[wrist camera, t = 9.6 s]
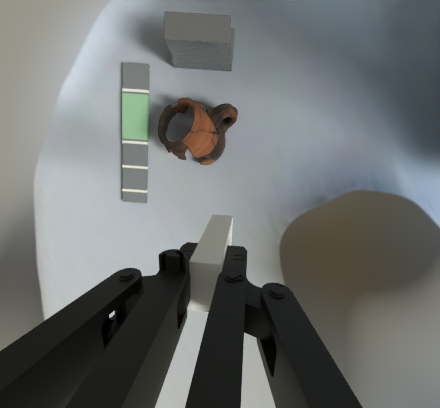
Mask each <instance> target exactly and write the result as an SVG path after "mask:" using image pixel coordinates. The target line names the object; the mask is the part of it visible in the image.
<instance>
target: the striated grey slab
mask: <svg viewBox="0 0 440 408" xmlns="http://www.w3.org/2000/svg"><path fill="white" fill-rule="evenodd" d="M230 24H231V16H228V15H212V14H196V13H180V12H165V19H164V40H165V42H166V44H167V46H168V48H169V50H170V53H171V55H172V63H173V65H174V67H176V68H191V69H206V70H221V71H231V69H232V56H233V42H234V28H230Z"/></svg>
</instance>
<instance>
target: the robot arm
mask: <svg viewBox="0 0 440 408" xmlns="http://www.w3.org/2000/svg"><path fill="white" fill-rule="evenodd" d="M232 223H233V216H224V215H212V217H211V219H210V221H209V223H208V225H207V227H206V229H205V231H204V233H203V235H202V237H201V239H200V241H199V243H190V242H187V243H186V244H184V245H183V246H182V247H181V248H180V250H177V249H171V250H166V251H164V252H162V253H160V254H159V269H160V270H159V272H158V273H157V274H156V275H152V276H143V277H142V274H141V272H140V270H138V269H135V268H126V269H122V270H119V271H118V272H116V273H114V274H113V275H111V276H110V277H108V278H107V279H105V280H104V281H102V282H101V283H99V284H98V285H97V286H95V287H94V288H92V289H91V290H89V291H88V292H86V293H85V294H83V295H82V296H80V297H79V298H78V299H76V300H75V301H73V302H72V303H70V304H69V305H67V306H66V307H64V308H63V309H61V310H60V311H59V312H57V313H56V314H54V315H53V316H51V317H50V318H48V319H47V320H45V321H44V322H43V323H41V324H40V325H38V326H37V327H35V328H34V329H32V330H31V331H29V332H28V333H27V334H25V335H23V336H22V337H21V338H19V339H18V340H16V341H15V342H13V343H12V344H10V345H9V346H7V347H6V348H4V349H3V350H2V351H0V408H155V405H156V402H157V400H158V397H159V394H160V391H161V388H162V386H163V383H164V380H165V377H166V374H167V372H168V369H169V366H170V363H171V360H172V358H173V355H174V352H175V349H176V346H177V344H178V341H179V338H180V335H181V332H182V330H183V327H184V324H185V321H186V318H187V307H188V304H189V302H190V309H191V310H198V311H206V312H209V314H208V318H207V322H206V326H205V330H204V334H203V338H202V342H201V346H200V350H199V354H198V358H197V362H196V366H195V370H194V374H193V378H192V382H191V386H190V390H189V394H188V398H187V402H186V406H185V408H240V407H241V385H242V362H243V340H244V332H245V333H247V334H249V335H252V336H254V337H256V338H257V344H258V348H259V351H260V354H261V358H262V361H263V365H264V368H265V372H266V375H267V378H268V382H269V385H270V389H271V392H272V396H273V399H274V402H275V406H276V408H362V406H361V405H360V403H359V401H358V400H357V398H356V396H355V395H354V393H353V391H352V390H351V388H350V386H349V385H348V383H347V381H346V380H345V378H344V377H343V375H342V373H341V372H340V370H339V368H338V367H337V365H336V363H335V362H334V360H333V358H332V357H331V355H330V354H329V352H328V350H327V349H326V347H325V346H324V344H323V342H322V340H321V339H320V337H319V336H318V334H317V332H316V331H315V329H314V328H313V326H312V324H311V322H310V321H309V319H308V317H307V316H306V314H305V312H304V311H303V309H302V308H301V306H300V304H299V303H298V301H297V299H296V298H295V296H294V295H293V293H292V292H291V290H290V289H289V288H288V287H286V286H284V285H282V284H279V283H267V284H265V285H264V286H263V287H262V288H260V287H257V286H255V285H253V284H251V283H250V282H249V281H248V280H247V278H246V266H247V250H246V249H245V248H244V247H240V246H231V243H232ZM114 310H115V315H114V316H113V317H111V318H109V314H110V313H112V312H113V311H114Z"/></svg>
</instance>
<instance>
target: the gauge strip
mask: <svg viewBox="0 0 440 408" xmlns="http://www.w3.org/2000/svg"><path fill="white" fill-rule="evenodd" d="M122 91H123V93H122V138H123V140H122V143H123V165H122V167H123V189H122V191H123V201H124V202H138V203H147V173H148V134H149V65H148V64H138V63H123V88H122Z"/></svg>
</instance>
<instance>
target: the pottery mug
mask: <svg viewBox="0 0 440 408" xmlns="http://www.w3.org/2000/svg"><path fill="white" fill-rule="evenodd" d="M189 106H191V107H192V109H193V111H194V121H193V125H192V127H191V129H190V131H189V133H188V134H187V135H186V136H185V137H184V138H183V139H182V140H180V141H178V142H169V141H168V140H167V138H166V132H167V127H168V124H169V122H170V120H171V119H172V117H173V116H174V115H175V114H176V113H178V112H179V113H185V112H186V111H188V109H189V108H190V107H189ZM203 109H204V106H203V105H201V104H200V103H198V102H194V101H193V100H191V99H189V98H180V99H178V105H177V106H176V107H174V108H173V107H172V106H171V105H168V106H167V107H166V108H165V110H164V112H163V113H162V115H161V117H160V120H159V125H158V135H159V139H160V141H161V142H162V143H163V144H164V145H165V147H166V149H167V151H168V152H169V153H170V152H171V151H172V153H173V154H174V155H176V156H177V157H178V158H179V159H182V160H186V156H185V152H186V149H187V147H188V148H189V150H190V151H191V153H192V155H193V156H194V157H196V158H200V157H202V156H203V157H204V158H207V159H205V160H203V161H200V164H201V165H209V164H211V163H213V162H215V161H216V160H217V159H218V158H219V157H220V156H221V154H222V153H223V151H224V148H225V133H226V131H227V129H228V128H229V127H230V126H232V125H233V124H234V123H235V122H236V120H237V114H238V113H237V112H238V111H237V109H236V108H235V107H233V106H232V105H231V104H221V105H219V106H217V107H215V108H207V109H206V112H205V111H204V110H203ZM215 128H216V130H217V133H214V131H215ZM170 149H171V151H170Z"/></svg>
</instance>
